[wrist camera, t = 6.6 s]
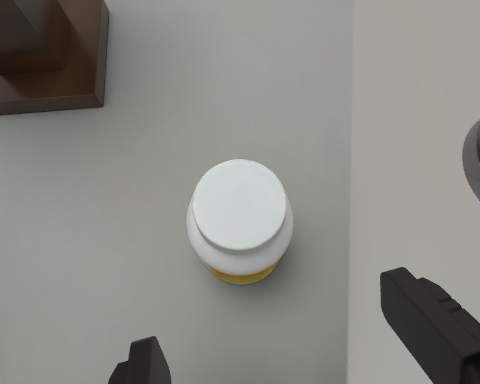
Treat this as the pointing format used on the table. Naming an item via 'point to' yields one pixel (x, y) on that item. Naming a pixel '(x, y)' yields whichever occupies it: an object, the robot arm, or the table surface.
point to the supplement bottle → (240, 221)
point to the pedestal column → (52, 54)
